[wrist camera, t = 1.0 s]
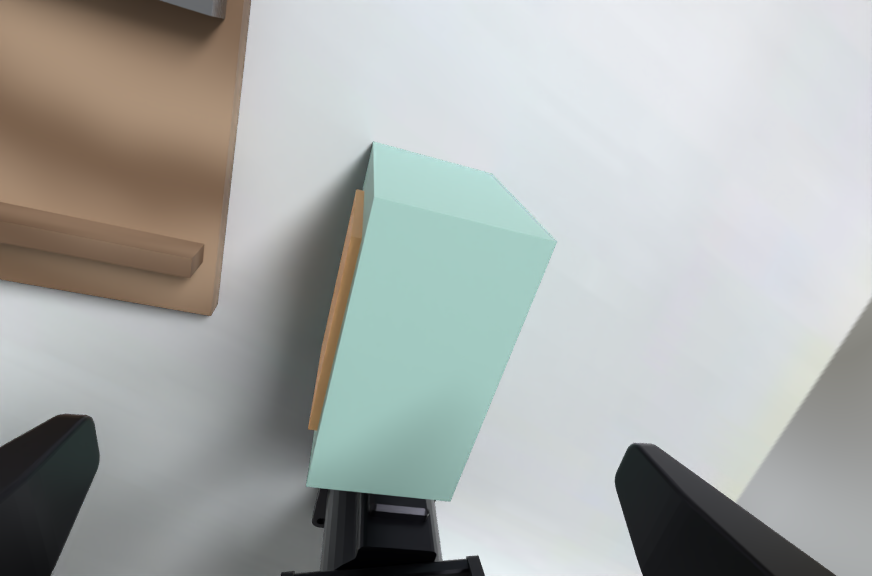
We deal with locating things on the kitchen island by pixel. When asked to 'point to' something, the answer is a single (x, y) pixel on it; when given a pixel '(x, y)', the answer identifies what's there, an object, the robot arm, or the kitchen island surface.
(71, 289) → the shelf
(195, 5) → the price rail
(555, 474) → the kitchen island surface
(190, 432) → the kitchen island surface
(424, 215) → the product carton
